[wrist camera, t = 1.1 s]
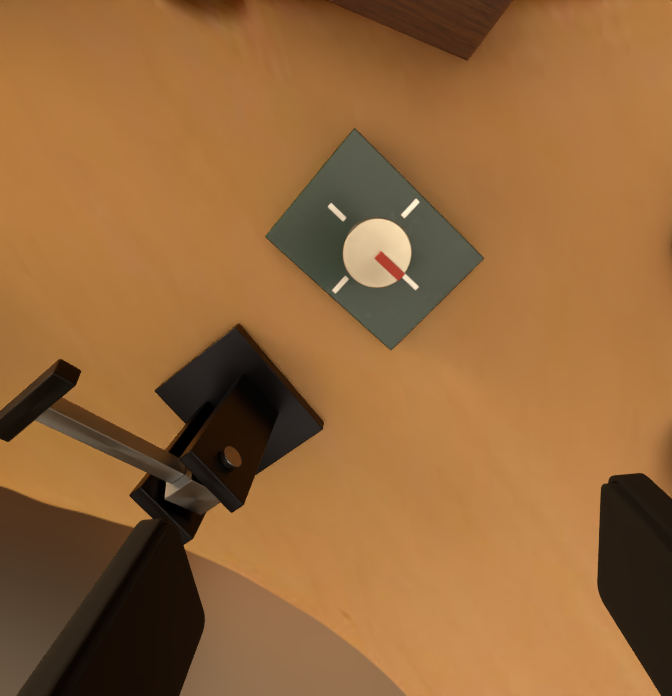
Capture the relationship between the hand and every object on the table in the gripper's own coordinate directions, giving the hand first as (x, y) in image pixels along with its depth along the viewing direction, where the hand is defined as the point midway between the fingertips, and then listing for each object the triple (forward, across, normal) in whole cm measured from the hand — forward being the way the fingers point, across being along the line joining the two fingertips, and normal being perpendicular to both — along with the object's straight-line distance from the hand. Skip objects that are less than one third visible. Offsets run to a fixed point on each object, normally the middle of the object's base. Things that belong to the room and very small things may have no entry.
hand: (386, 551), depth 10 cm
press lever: (+13, +14, +3) cm, 19 cm away
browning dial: (+22, -1, -5) cm, 23 cm away
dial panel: (+25, -1, -5) cm, 26 cm away
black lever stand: (+25, +11, +7) cm, 29 cm away
